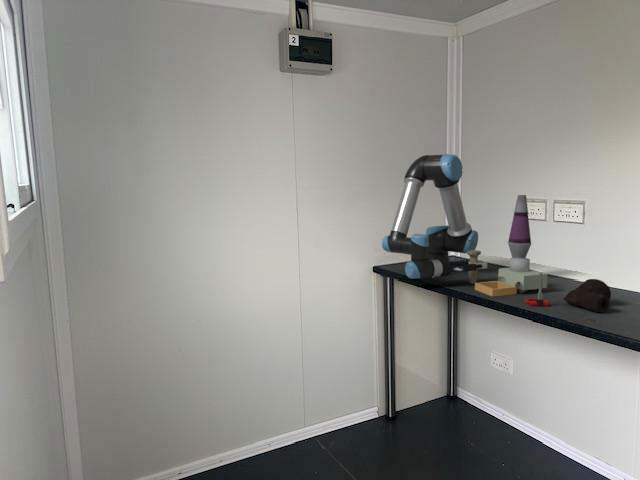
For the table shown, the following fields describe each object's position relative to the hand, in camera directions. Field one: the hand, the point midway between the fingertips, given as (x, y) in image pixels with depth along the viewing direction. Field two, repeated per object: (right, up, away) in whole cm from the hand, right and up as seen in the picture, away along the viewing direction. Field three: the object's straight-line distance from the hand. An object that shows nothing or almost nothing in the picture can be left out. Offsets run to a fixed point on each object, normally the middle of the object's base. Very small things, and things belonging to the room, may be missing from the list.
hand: (483, 264), depth 214 cm
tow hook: (+9, -14, -33) cm, 37 cm away
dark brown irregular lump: (+27, -14, -38) cm, 49 cm away
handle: (-5, -9, 0) cm, 10 cm away
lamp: (+18, -8, +6) cm, 21 cm away
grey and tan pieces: (+6, -11, -14) cm, 18 cm away
